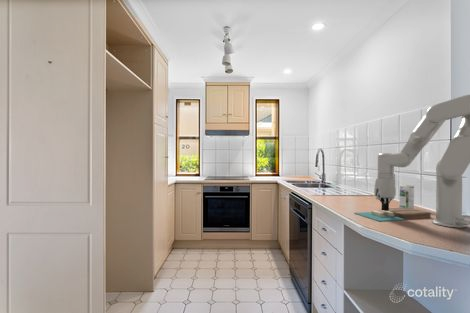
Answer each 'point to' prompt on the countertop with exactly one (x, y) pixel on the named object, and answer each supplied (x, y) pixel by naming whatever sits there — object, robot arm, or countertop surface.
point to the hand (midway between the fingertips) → (385, 210)
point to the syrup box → (406, 196)
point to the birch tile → (382, 213)
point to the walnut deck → (409, 213)
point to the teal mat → (369, 215)
